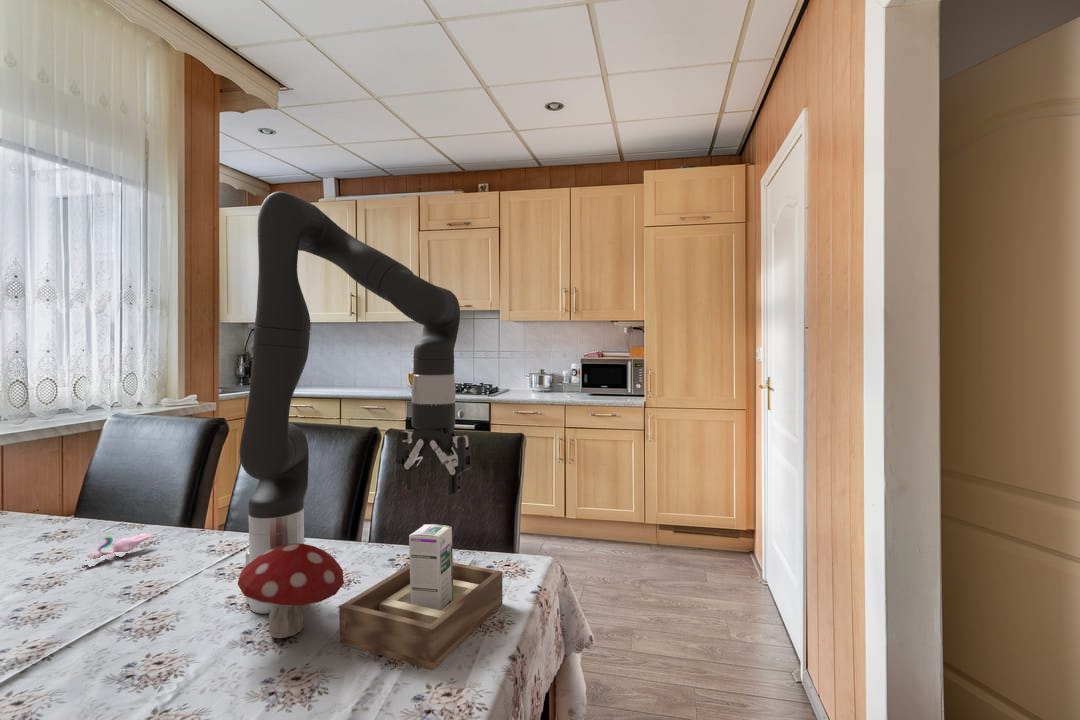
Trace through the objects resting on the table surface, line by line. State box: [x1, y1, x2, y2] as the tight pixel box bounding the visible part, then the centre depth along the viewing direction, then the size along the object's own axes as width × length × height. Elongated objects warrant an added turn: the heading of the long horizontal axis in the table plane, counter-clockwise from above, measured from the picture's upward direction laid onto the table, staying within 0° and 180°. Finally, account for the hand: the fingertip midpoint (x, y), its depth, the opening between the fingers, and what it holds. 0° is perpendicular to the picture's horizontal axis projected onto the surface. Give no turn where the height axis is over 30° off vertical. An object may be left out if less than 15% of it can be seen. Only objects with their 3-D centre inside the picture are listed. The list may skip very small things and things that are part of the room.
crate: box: [338, 562, 503, 671], centre depth 91 cm, size 18×22×6 cm
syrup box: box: [408, 523, 454, 611], centre depth 92 cm, size 6×6×14 cm
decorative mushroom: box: [237, 543, 344, 639], centre depth 87 cm, size 16×16×15 cm
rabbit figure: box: [78, 533, 156, 561], centre depth 120 cm, size 6×6×15 cm
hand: (433, 492), depth 92 cm, fingers open, 8 cm apart
